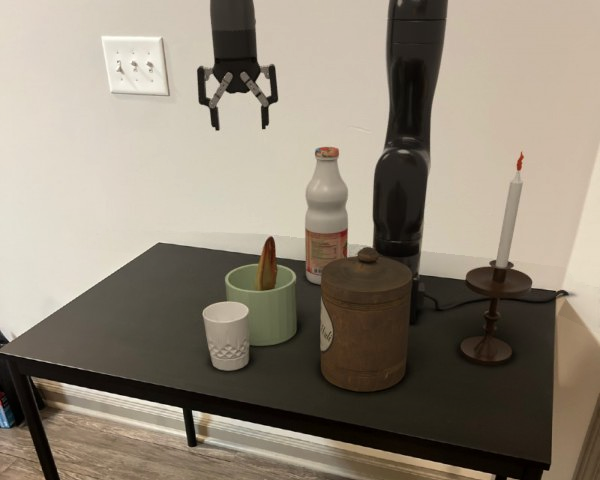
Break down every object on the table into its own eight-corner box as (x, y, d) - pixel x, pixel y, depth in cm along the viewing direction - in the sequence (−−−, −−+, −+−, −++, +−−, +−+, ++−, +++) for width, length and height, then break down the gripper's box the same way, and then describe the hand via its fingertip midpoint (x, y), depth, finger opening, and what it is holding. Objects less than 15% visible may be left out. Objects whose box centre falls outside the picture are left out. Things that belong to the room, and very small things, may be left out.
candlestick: (508, 374, 104) (553, 162, 84) (446, 359, 109) (476, 154, 89) (522, 346, 112) (566, 146, 92) (464, 333, 117) (495, 139, 97)
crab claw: (267, 338, 116) (264, 252, 101) (243, 330, 118) (236, 244, 102) (282, 316, 120) (282, 230, 105) (259, 309, 122) (255, 223, 106)
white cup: (234, 377, 105) (229, 326, 99) (199, 365, 109) (193, 315, 103) (260, 357, 111) (257, 307, 105) (226, 346, 114) (221, 297, 108)
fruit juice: (298, 274, 141) (296, 147, 125) (334, 266, 144) (336, 142, 128) (317, 289, 134) (317, 156, 118) (354, 281, 138) (358, 151, 122)
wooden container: (336, 342, 114) (338, 228, 102) (413, 356, 110) (425, 238, 97) (308, 383, 103) (306, 260, 91) (393, 400, 99) (404, 273, 86)
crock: (300, 315, 124) (300, 264, 118) (292, 347, 113) (290, 293, 107) (237, 312, 125) (233, 262, 119) (223, 344, 115) (217, 290, 108)
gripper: (189, 29, 100) (200, 134, 109) (275, 26, 100) (279, 132, 109) (193, 26, 106) (204, 126, 115) (275, 24, 106) (279, 124, 115)
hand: (240, 129), depth 112 cm, fingers open, 8 cm apart
